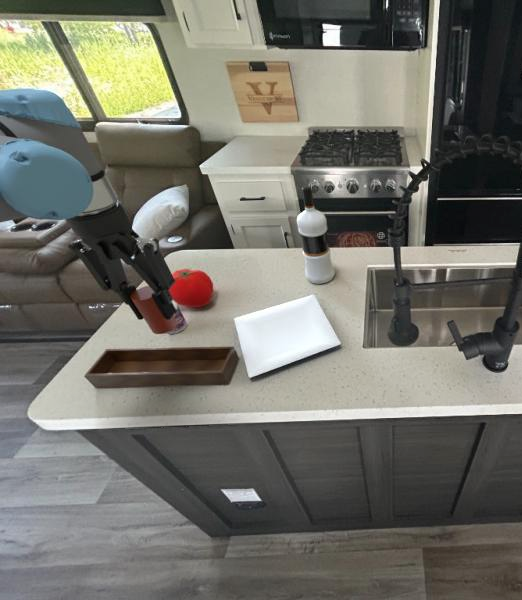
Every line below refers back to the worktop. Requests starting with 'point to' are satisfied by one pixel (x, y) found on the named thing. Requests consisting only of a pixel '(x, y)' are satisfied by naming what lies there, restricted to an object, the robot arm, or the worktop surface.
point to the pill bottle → (178, 320)
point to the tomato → (191, 288)
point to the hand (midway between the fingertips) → (157, 314)
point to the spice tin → (152, 311)
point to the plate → (284, 334)
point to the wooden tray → (163, 367)
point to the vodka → (314, 241)
